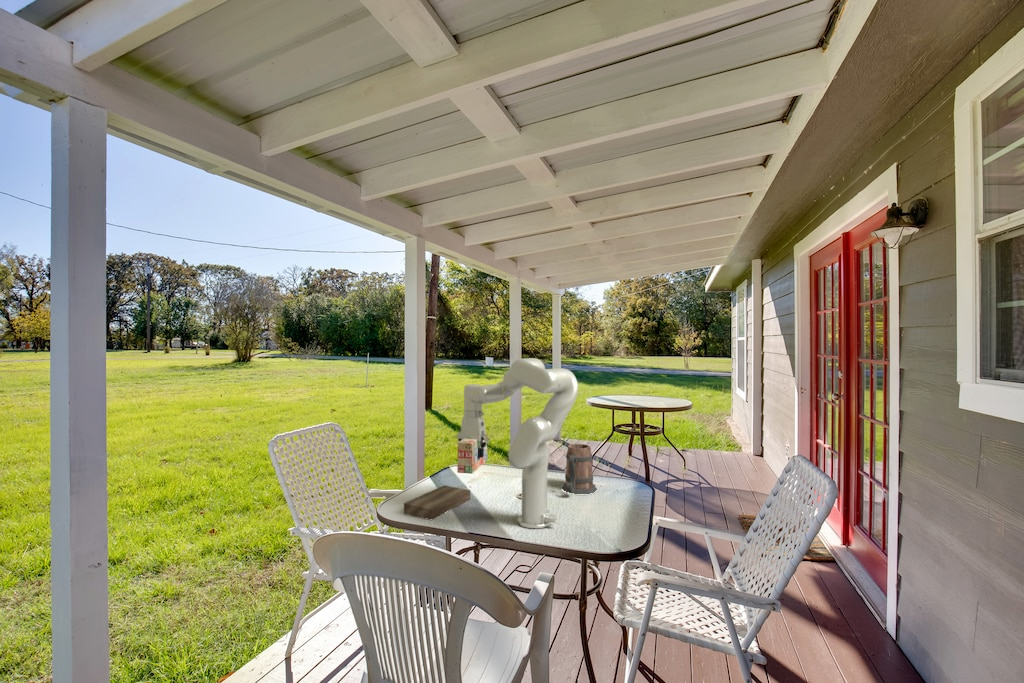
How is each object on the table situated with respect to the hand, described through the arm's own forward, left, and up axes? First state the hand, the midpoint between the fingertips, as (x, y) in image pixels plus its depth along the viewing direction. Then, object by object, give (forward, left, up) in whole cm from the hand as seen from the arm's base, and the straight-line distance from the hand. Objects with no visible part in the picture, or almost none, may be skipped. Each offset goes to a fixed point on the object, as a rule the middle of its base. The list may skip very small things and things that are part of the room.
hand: (472, 455), depth 192 cm
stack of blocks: (0, -1, -5) cm, 5 cm away
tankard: (-32, -37, -20) cm, 53 cm away
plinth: (+11, +9, -20) cm, 25 cm away
